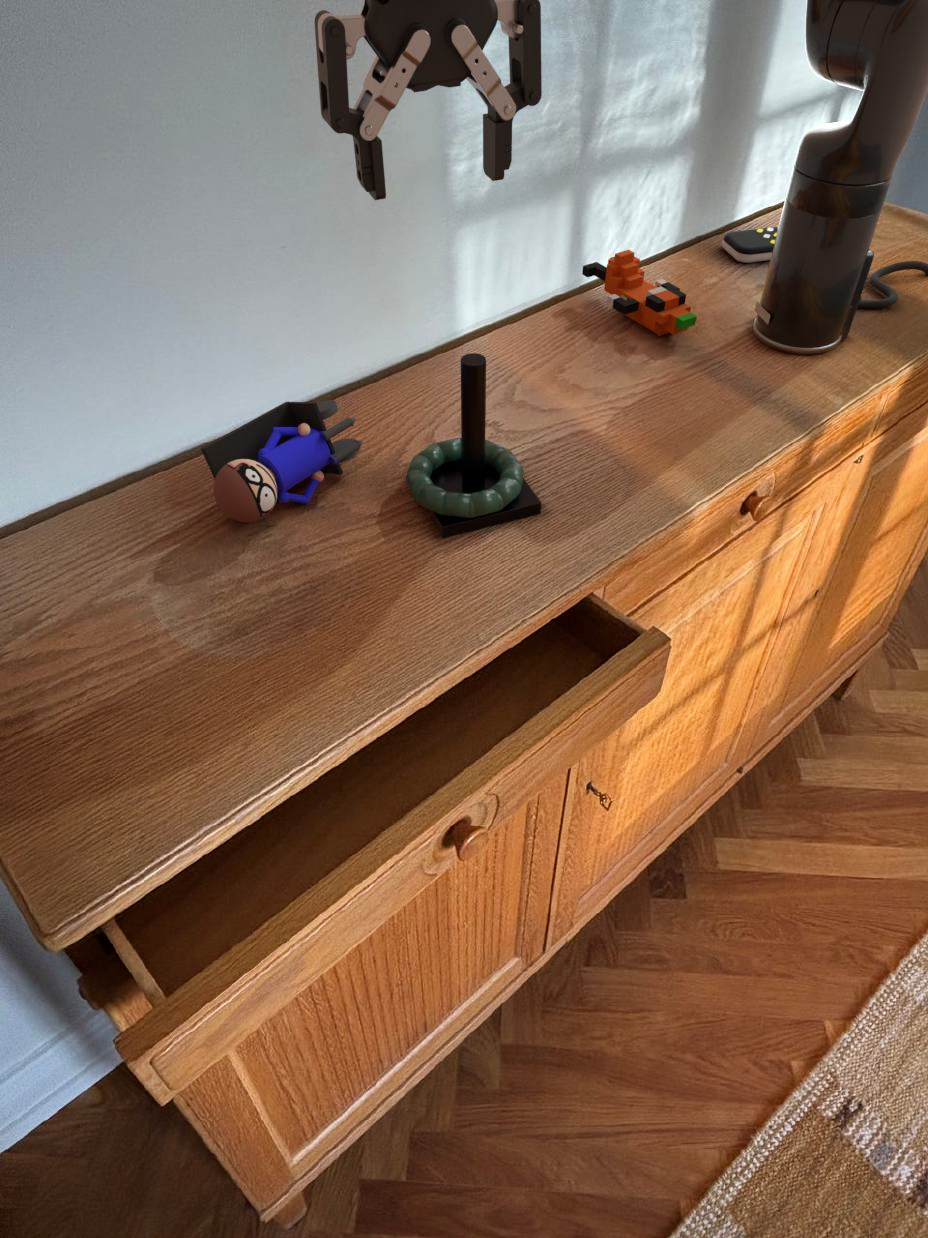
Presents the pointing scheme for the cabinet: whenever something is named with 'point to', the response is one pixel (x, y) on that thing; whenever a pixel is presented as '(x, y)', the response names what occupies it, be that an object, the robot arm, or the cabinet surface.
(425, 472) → the ring
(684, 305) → the toy
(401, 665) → the cabinet surface
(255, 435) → the character figurine
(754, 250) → the remote control
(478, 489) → the post
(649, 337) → the cabinet surface
